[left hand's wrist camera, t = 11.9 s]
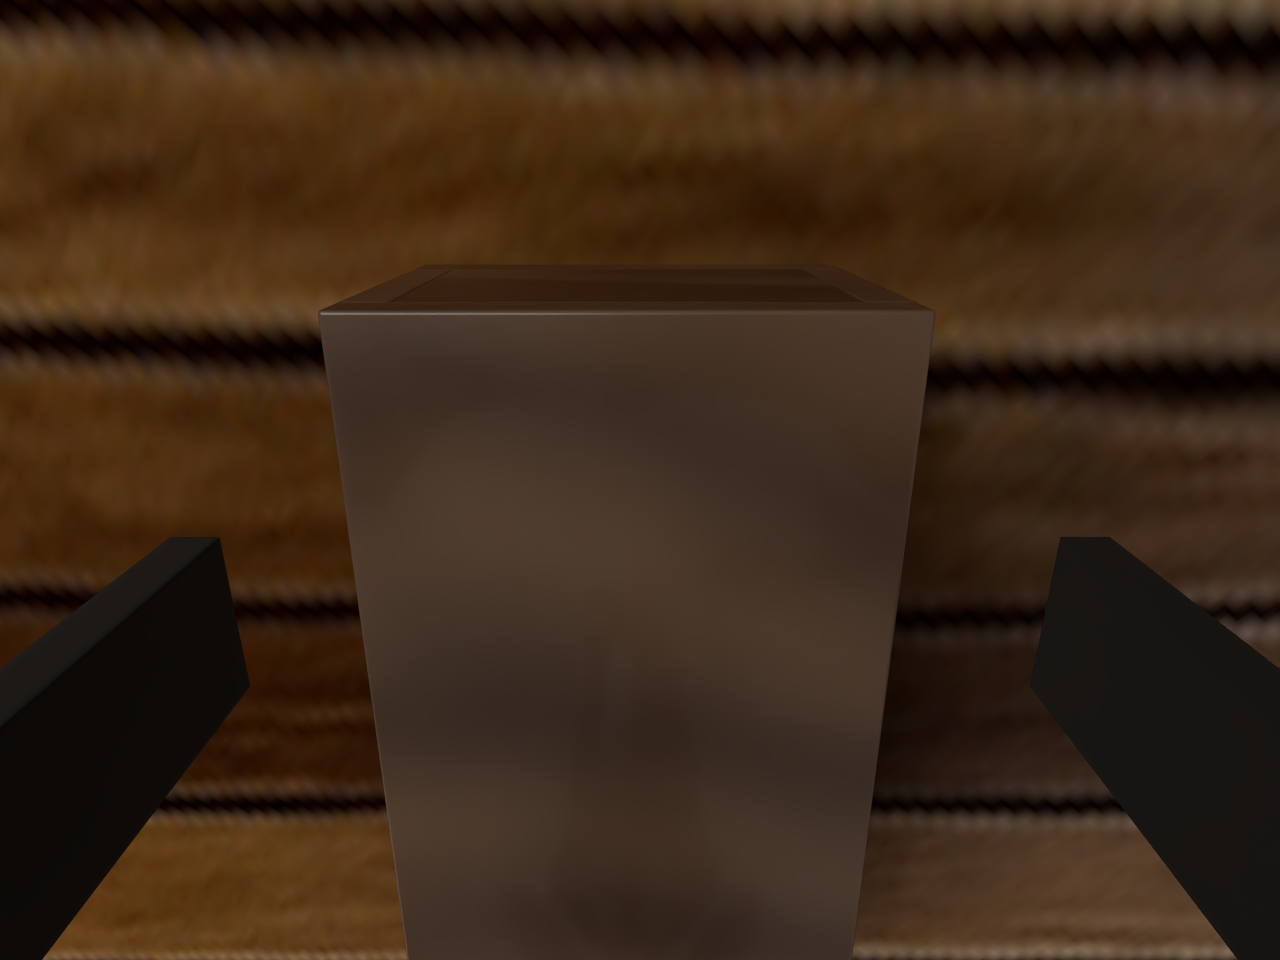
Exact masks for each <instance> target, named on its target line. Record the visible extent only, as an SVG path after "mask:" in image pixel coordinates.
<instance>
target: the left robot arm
mask: <svg viewBox="0 0 1280 960" xmlns="http://www.w3.org/2000/svg"><path fill="white" fill-rule="evenodd" d="M249 687H250V684H249V679H248V674H247V669H246V664H245V660H244V655H243V650H242V645H241V640H240V635H239V630H238V626H237V621H236V616H235V611H234V606H233V601H232V596H231V591H230V587H229V582H228V577H227V572H226V567H225V562H224V557H223V552H222V548H221V543H220V538H219V537H170V538H169V539H167V540H166V541H165V542H163V543H162V544H161V545H160V546H158V547H157V548H156V549H154V550H153V551H152V552H151V553H149V554H148V555H147V556H145V557H144V558H143V559H142V560H140V561H139V562H138V563H136V564H135V565H134V566H132V567H131V568H130V569H129V570H127V571H126V572H125V573H123V574H122V575H121V576H120V577H118V578H117V579H116V580H114V581H113V582H112V583H111V584H109V585H108V586H107V587H105V588H104V589H103V590H102V591H100V592H99V593H98V594H96V595H95V596H94V597H93V598H91V599H90V600H89V601H87V602H86V603H85V604H83V605H82V606H81V607H80V608H78V609H77V610H76V611H74V612H73V613H72V614H71V615H69V616H68V617H67V618H65V619H64V620H63V621H62V622H60V623H59V624H58V625H56V626H55V627H54V628H53V629H51V630H50V631H49V632H47V633H46V634H45V635H44V636H42V637H41V638H40V639H38V640H37V641H36V642H34V643H33V644H32V645H31V646H29V647H28V648H27V649H25V650H24V651H23V652H22V653H20V654H19V655H18V656H16V657H15V658H14V659H13V660H11V661H10V662H9V663H7V664H6V665H5V666H4V667H2V668H1V669H0V960H42V959H43V958H44V956H45V955H46V954H47V952H48V951H49V950H50V949H51V947H52V946H53V945H54V943H55V942H56V941H57V939H58V938H59V937H60V935H61V934H62V933H63V931H64V930H65V929H66V927H67V926H68V925H69V924H70V922H71V921H72V920H73V918H74V917H75V916H76V914H77V913H78V912H79V910H80V909H81V908H82V906H83V905H84V904H85V902H86V901H87V900H88V899H89V897H90V896H91V895H92V893H93V892H94V891H95V889H96V888H97V887H98V885H99V884H100V883H101V881H102V880H103V879H104V877H105V876H106V875H107V874H108V872H109V871H110V870H111V868H112V867H113V866H114V864H115V863H116V862H117V860H118V859H119V858H120V856H121V855H122V854H123V852H124V851H125V850H126V849H127V847H128V846H129V845H130V843H131V842H132V841H133V839H134V838H135V837H136V835H137V834H138V833H139V831H140V830H141V829H142V827H143V826H144V825H145V824H146V822H147V821H148V820H149V818H150V817H151V816H152V814H153V813H154V812H155V810H156V809H157V808H158V806H159V805H160V804H161V802H162V801H163V800H164V799H165V797H166V796H167V795H168V793H169V792H170V791H171V789H172V788H173V787H174V785H175V784H176V783H177V781H178V780H179V779H180V777H181V776H182V775H183V774H184V772H185V771H186V770H187V768H188V767H189V766H190V764H191V763H192V762H193V760H194V759H195V758H196V756H197V755H198V754H199V752H200V751H201V750H202V749H203V747H204V746H205V745H206V743H207V742H208V741H209V739H210V738H211V737H212V735H213V734H214V733H215V731H216V730H217V729H218V727H219V726H220V725H221V724H222V722H223V721H224V720H225V718H226V717H227V716H228V714H229V713H230V712H231V710H232V709H233V708H234V706H235V705H236V704H237V702H238V701H239V700H240V699H241V697H242V696H243V695H244V693H245V692H246V691H247V689H248V688H249ZM1030 687H1031V688H1032V689H1033V691H1034V692H1035V693H1036V695H1037V696H1038V697H1039V699H1040V700H1041V701H1042V702H1043V704H1044V705H1045V706H1046V708H1047V709H1048V710H1049V712H1050V713H1051V714H1052V716H1053V717H1054V718H1055V720H1056V721H1057V722H1058V724H1059V725H1060V726H1061V727H1062V729H1063V730H1064V731H1065V733H1066V734H1067V735H1068V737H1069V738H1070V739H1071V741H1072V742H1073V743H1074V745H1075V746H1076V747H1077V749H1078V750H1079V751H1080V752H1081V754H1082V755H1083V756H1084V758H1085V759H1086V760H1087V762H1088V763H1089V764H1090V766H1091V767H1092V768H1093V770H1094V771H1095V772H1096V774H1097V775H1098V776H1099V777H1100V779H1101V780H1102V781H1103V783H1104V784H1105V785H1106V787H1107V788H1108V789H1109V791H1110V792H1111V793H1112V795H1113V796H1114V797H1115V799H1116V800H1117V801H1118V802H1119V804H1120V805H1121V806H1122V808H1123V809H1124V810H1125V812H1126V813H1127V814H1128V816H1129V817H1130V818H1131V820H1132V821H1133V822H1134V824H1135V825H1136V826H1137V827H1138V829H1139V830H1140V831H1141V833H1142V834H1143V835H1144V837H1145V838H1146V839H1147V841H1148V842H1149V843H1150V845H1151V846H1152V847H1153V849H1154V850H1155V851H1156V852H1157V854H1158V855H1159V856H1160V858H1161V859H1162V860H1163V862H1164V863H1165V864H1166V866H1167V867H1168V868H1169V870H1170V871H1171V872H1172V874H1173V875H1174V876H1175V877H1176V879H1177V880H1178V881H1179V883H1180V884H1181V885H1182V887H1183V888H1184V889H1185V891H1186V892H1187V893H1188V895H1189V896H1190V897H1191V899H1192V900H1193V901H1194V902H1195V904H1196V905H1197V906H1198V908H1199V909H1200V910H1201V912H1202V913H1203V914H1204V916H1205V917H1206V918H1207V920H1208V921H1209V922H1210V924H1211V925H1212V926H1213V927H1214V929H1215V930H1216V931H1217V933H1218V934H1219V935H1220V937H1221V938H1222V939H1223V941H1224V942H1225V943H1226V945H1227V946H1228V947H1229V949H1230V950H1231V951H1232V952H1233V954H1234V955H1235V956H1236V958H1237V959H1238V960H1280V669H1279V668H1278V667H1276V666H1275V665H1274V664H1273V663H1271V662H1270V661H1269V660H1267V659H1266V658H1265V657H1264V656H1262V655H1261V654H1260V653H1258V652H1257V651H1256V650H1255V649H1253V648H1252V647H1251V646H1249V645H1248V644H1247V643H1246V642H1244V641H1243V640H1242V639H1240V638H1239V637H1238V636H1236V635H1235V634H1234V633H1233V632H1231V631H1230V630H1229V629H1227V628H1226V627H1225V626H1224V625H1222V624H1221V623H1220V622H1218V621H1217V620H1216V619H1215V618H1213V617H1212V616H1211V615H1209V614H1208V613H1207V612H1206V611H1204V610H1203V609H1202V608H1200V607H1199V606H1198V605H1197V604H1195V603H1194V602H1193V601H1191V600H1190V599H1189V598H1187V597H1186V596H1185V595H1184V594H1182V593H1181V592H1180V591H1178V590H1177V589H1176V588H1175V587H1173V586H1172V585H1171V584H1169V583H1168V582H1167V581H1166V580H1164V579H1163V578H1162V577H1160V576H1159V575H1158V574H1157V573H1155V572H1154V571H1153V570H1151V569H1150V568H1149V567H1148V566H1146V565H1145V564H1144V563H1142V562H1141V561H1140V560H1138V559H1137V558H1136V557H1135V556H1133V555H1132V554H1131V553H1129V552H1128V551H1127V550H1126V549H1124V548H1123V547H1122V546H1120V545H1119V544H1118V543H1117V542H1115V541H1114V540H1113V539H1111V538H1110V537H1061V538H1060V543H1059V548H1058V552H1057V557H1056V562H1055V567H1054V572H1053V577H1052V582H1051V587H1050V591H1049V596H1048V601H1047V606H1046V611H1045V616H1044V621H1043V626H1042V630H1041V635H1040V640H1039V645H1038V650H1037V655H1036V660H1035V664H1034V669H1033V674H1032V679H1031V684H1030Z"/></svg>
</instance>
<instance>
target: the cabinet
mask: <svg viewBox="0 0 1280 960" xmlns="http://www.w3.org/2000/svg"><path fill="white" fill-rule="evenodd" d="M318 317H319V324H320V331H321V338H322V346H323V353H324V360H325V367H326V375H327V382H328V389H329V396H330V403H331V411H332V418H333V425H334V432H335V439H336V447H337V454H338V461H339V468H340V476H341V483H342V490H343V497H344V504H345V512H346V519H347V526H348V533H349V540H350V548H351V555H352V562H353V569H354V577H355V584H356V591H357V598H358V605H359V613H360V620H361V627H362V634H363V641H364V649H365V656H366V663H367V670H368V678H369V685H370V692H371V699H372V706H373V714H374V721H375V728H376V735H377V742H378V750H379V757H380V764H381V771H382V779H383V786H384V793H385V800H386V807H387V815H388V822H389V829H390V836H391V843H392V851H393V858H394V865H395V872H396V880H397V887H398V894H399V901H400V908H401V916H402V923H403V930H404V937H405V944H406V952H407V959H408V960H852V953H853V945H854V937H855V929H856V922H857V914H858V906H859V899H860V891H861V883H862V876H863V868H864V860H865V852H866V845H867V837H868V829H869V822H870V814H871V806H872V798H873V791H874V783H875V775H876V768H877V760H878V752H879V745H880V737H881V729H882V721H883V714H884V706H885V698H886V691H887V683H888V675H889V667H890V660H891V652H892V644H893V637H894V629H895V621H896V614H897V606H898V598H899V590H900V583H901V575H902V567H903V560H904V552H905V544H906V536H907V529H908V521H909V513H910V506H911V498H912V490H913V483H914V475H915V467H916V459H917V452H918V444H919V436H920V429H921V421H922V413H923V405H924V398H925V390H926V382H927V375H928V367H929V359H930V352H931V344H932V336H933V328H934V321H935V312H934V310H931V309H929V308H927V307H925V306H922V305H920V304H918V303H916V302H914V301H912V300H910V299H907V298H905V297H903V296H901V295H898V294H896V293H894V292H892V291H889V290H887V289H885V288H883V287H880V286H878V285H876V284H873V283H871V282H869V281H867V280H864V279H862V278H860V277H858V276H855V275H853V274H851V273H849V272H846V271H844V270H842V269H839V268H837V267H835V266H832V265H425V266H422V267H420V268H418V269H415V270H413V271H411V272H408V273H406V274H404V275H401V276H399V277H397V278H394V279H392V280H390V281H387V282H385V283H383V284H380V285H378V286H376V287H373V288H371V289H369V290H366V291H364V292H362V293H359V294H357V295H355V296H352V297H350V298H347V299H345V300H343V301H340V302H338V303H336V304H334V305H331V306H329V307H327V308H324V309H322V310H320V311H319V313H318Z"/></svg>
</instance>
